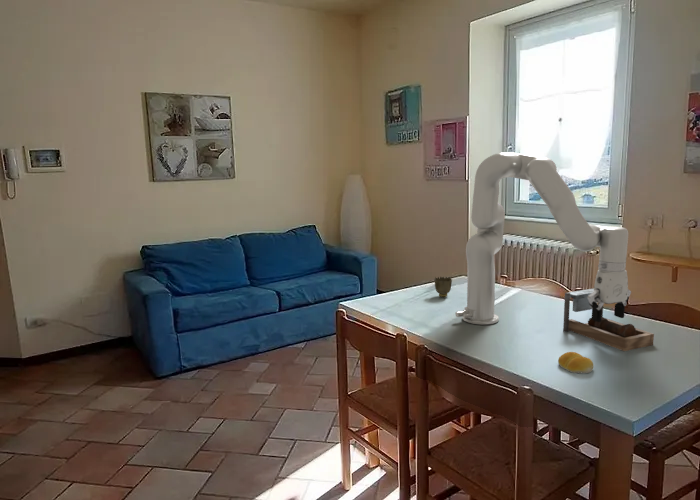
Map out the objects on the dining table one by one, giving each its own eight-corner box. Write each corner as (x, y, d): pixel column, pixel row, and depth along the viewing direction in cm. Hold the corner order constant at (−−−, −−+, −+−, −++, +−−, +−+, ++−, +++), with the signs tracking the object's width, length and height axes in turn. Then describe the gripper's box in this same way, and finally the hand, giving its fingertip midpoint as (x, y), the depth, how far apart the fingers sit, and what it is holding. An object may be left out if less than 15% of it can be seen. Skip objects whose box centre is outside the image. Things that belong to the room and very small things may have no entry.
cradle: (618, 352, 150) (621, 310, 148) (562, 330, 171) (563, 292, 168) (658, 343, 156) (661, 302, 154) (599, 323, 177) (601, 287, 174)
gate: (574, 313, 168) (575, 295, 167) (565, 310, 171) (566, 292, 170) (602, 308, 172) (603, 291, 171) (592, 305, 176) (593, 288, 175)
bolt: (592, 332, 170) (631, 345, 156) (582, 326, 168) (621, 339, 155) (599, 316, 171) (639, 327, 157) (589, 310, 169) (628, 322, 155)
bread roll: (577, 377, 135) (578, 362, 135) (552, 364, 144) (553, 351, 143) (601, 371, 138) (602, 357, 138) (575, 360, 147) (576, 346, 146)
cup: (453, 298, 213) (453, 280, 212) (435, 299, 213) (435, 280, 212) (450, 294, 220) (450, 276, 219) (433, 294, 220) (433, 276, 219)
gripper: (601, 271, 153) (596, 326, 156) (642, 266, 159) (637, 318, 162) (581, 266, 160) (577, 319, 163) (621, 261, 166) (617, 312, 169)
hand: (607, 318), depth 163 cm, fingers open, 9 cm apart
